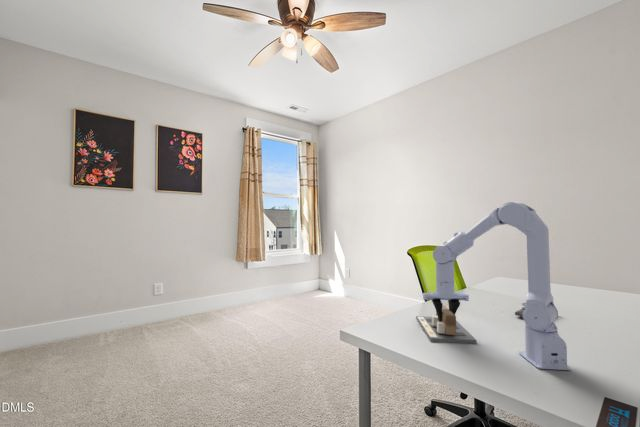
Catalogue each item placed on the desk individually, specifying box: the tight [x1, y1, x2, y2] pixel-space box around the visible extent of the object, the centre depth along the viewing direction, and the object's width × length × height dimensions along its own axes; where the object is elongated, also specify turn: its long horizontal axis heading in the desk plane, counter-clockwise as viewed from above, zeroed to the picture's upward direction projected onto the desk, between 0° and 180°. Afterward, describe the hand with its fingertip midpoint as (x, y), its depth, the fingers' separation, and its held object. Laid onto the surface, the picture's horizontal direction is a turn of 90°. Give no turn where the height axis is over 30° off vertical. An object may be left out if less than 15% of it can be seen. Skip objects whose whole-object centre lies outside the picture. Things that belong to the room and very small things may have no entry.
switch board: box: [415, 315, 478, 344], centre depth 105 cm, size 22×14×1 cm, turn 173°
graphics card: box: [514, 302, 526, 318], centre depth 120 cm, size 17×4×12 cm
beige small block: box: [437, 322, 445, 334], centre depth 99 cm, size 2×2×3 cm
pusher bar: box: [435, 305, 457, 335], centre depth 102 cm, size 12×3×6 cm, turn 173°
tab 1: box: [431, 315, 439, 326], centre depth 105 cm, size 2×2×3 cm
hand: (445, 321), depth 102 cm, fingers closed on pusher bar, 3 cm apart
